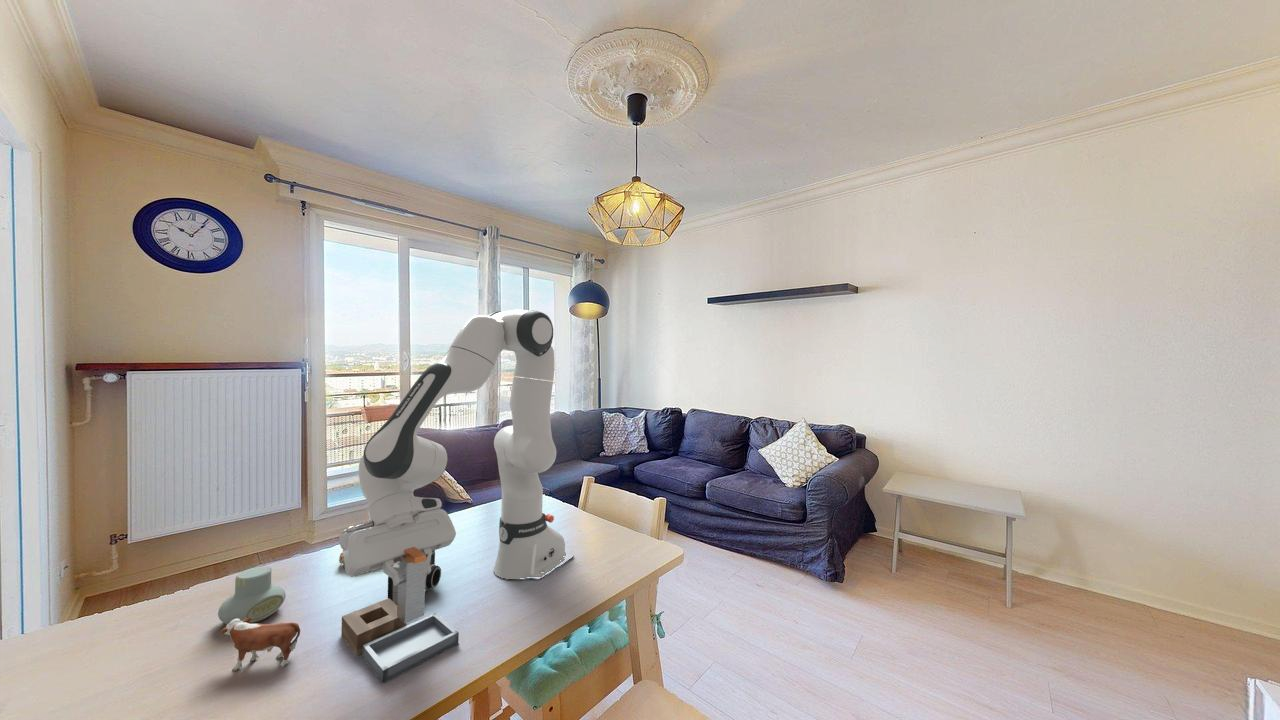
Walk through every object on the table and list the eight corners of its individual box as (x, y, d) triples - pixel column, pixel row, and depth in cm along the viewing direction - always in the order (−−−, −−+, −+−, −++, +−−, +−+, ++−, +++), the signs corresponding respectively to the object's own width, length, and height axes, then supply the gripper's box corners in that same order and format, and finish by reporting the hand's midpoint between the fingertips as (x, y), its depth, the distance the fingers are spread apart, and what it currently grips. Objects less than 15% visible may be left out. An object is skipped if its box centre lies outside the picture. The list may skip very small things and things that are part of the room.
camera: (415, 610, 97) (415, 566, 97) (380, 607, 98) (380, 564, 98) (452, 580, 110) (452, 541, 110) (421, 577, 112) (421, 539, 112)
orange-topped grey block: (413, 605, 87) (416, 544, 87) (426, 617, 83) (429, 553, 83) (394, 613, 84) (397, 549, 84) (407, 626, 80) (410, 559, 80)
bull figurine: (230, 655, 81) (231, 613, 81) (304, 653, 82) (305, 611, 82) (209, 672, 77) (210, 628, 77) (288, 670, 78) (289, 626, 78)
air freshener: (233, 637, 86) (234, 588, 86) (209, 627, 89) (210, 580, 89) (292, 608, 97) (293, 564, 97) (269, 600, 99) (270, 557, 99)
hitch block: (388, 615, 95) (389, 597, 95) (405, 632, 89) (406, 614, 89) (341, 635, 88) (341, 616, 88) (356, 655, 82) (357, 635, 82)
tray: (435, 623, 92) (435, 612, 92) (458, 643, 86) (458, 632, 86) (362, 657, 81) (362, 645, 81) (382, 683, 75) (383, 670, 75)
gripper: (341, 521, 80) (357, 592, 74) (447, 497, 96) (468, 553, 90) (332, 538, 83) (347, 608, 76) (437, 512, 99) (456, 567, 92)
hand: (413, 578), depth 83 cm, fingers closed on orange-topped grey block, 4 cm apart
